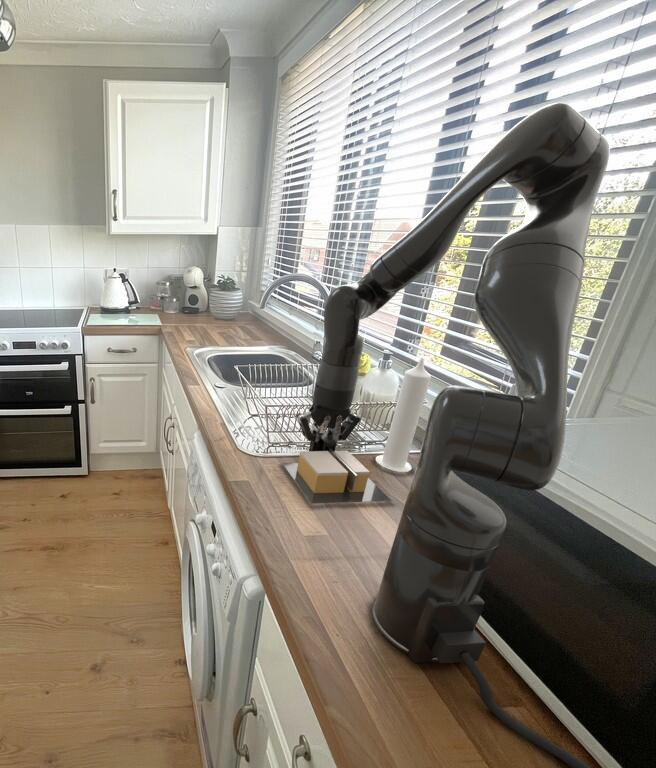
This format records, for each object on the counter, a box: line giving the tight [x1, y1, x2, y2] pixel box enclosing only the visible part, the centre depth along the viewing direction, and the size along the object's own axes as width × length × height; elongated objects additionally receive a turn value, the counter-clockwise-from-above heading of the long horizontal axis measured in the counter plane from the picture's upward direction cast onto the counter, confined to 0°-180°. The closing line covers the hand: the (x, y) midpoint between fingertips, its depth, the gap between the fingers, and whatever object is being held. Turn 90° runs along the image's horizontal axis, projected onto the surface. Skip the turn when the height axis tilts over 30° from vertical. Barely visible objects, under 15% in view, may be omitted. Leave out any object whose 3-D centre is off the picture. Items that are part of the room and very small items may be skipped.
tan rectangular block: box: [297, 450, 348, 493], centre depth 83 cm, size 8×6×5 cm
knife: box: [319, 431, 358, 491], centre depth 86 cm, size 16×2×5 cm, turn 5°
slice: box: [334, 450, 371, 492], centre depth 83 cm, size 8×3×5 cm, turn 5°
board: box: [281, 462, 393, 505], centre depth 84 cm, size 14×16×1 cm
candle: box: [375, 357, 432, 473], centre depth 87 cm, size 7×7×25 cm
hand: (320, 455), depth 91 cm, fingers closed on knife, 2 cm apart
